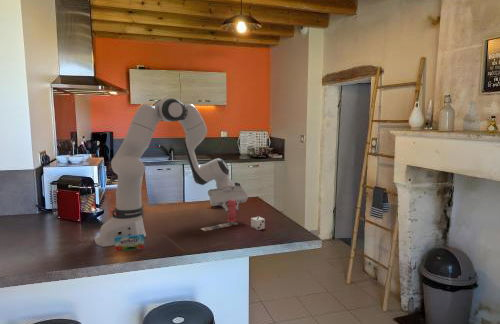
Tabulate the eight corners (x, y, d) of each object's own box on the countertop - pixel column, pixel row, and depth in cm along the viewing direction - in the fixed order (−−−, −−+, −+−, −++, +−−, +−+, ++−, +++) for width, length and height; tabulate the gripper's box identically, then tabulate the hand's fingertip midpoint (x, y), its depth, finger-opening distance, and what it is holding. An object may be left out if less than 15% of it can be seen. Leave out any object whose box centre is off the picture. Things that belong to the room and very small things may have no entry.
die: (256, 230, 176) (256, 220, 175) (250, 227, 180) (250, 217, 179) (264, 228, 179) (264, 218, 178) (258, 225, 183) (258, 216, 182)
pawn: (230, 222, 180) (230, 200, 178) (225, 220, 184) (225, 199, 182) (238, 221, 183) (238, 199, 181) (233, 219, 186) (233, 198, 185)
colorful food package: (114, 252, 148) (114, 237, 147) (115, 250, 149) (114, 236, 148) (144, 248, 152) (144, 235, 151) (144, 247, 153) (144, 233, 152)
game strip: (206, 235, 168) (206, 233, 168) (194, 228, 178) (194, 227, 178) (244, 227, 181) (244, 225, 181) (231, 221, 190) (231, 219, 190)
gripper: (208, 186, 183) (214, 209, 175) (244, 183, 191) (251, 205, 184) (205, 193, 187) (211, 215, 180) (240, 189, 196) (248, 211, 188)
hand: (232, 210), depth 182 cm, fingers closed on pawn, 4 cm apart
